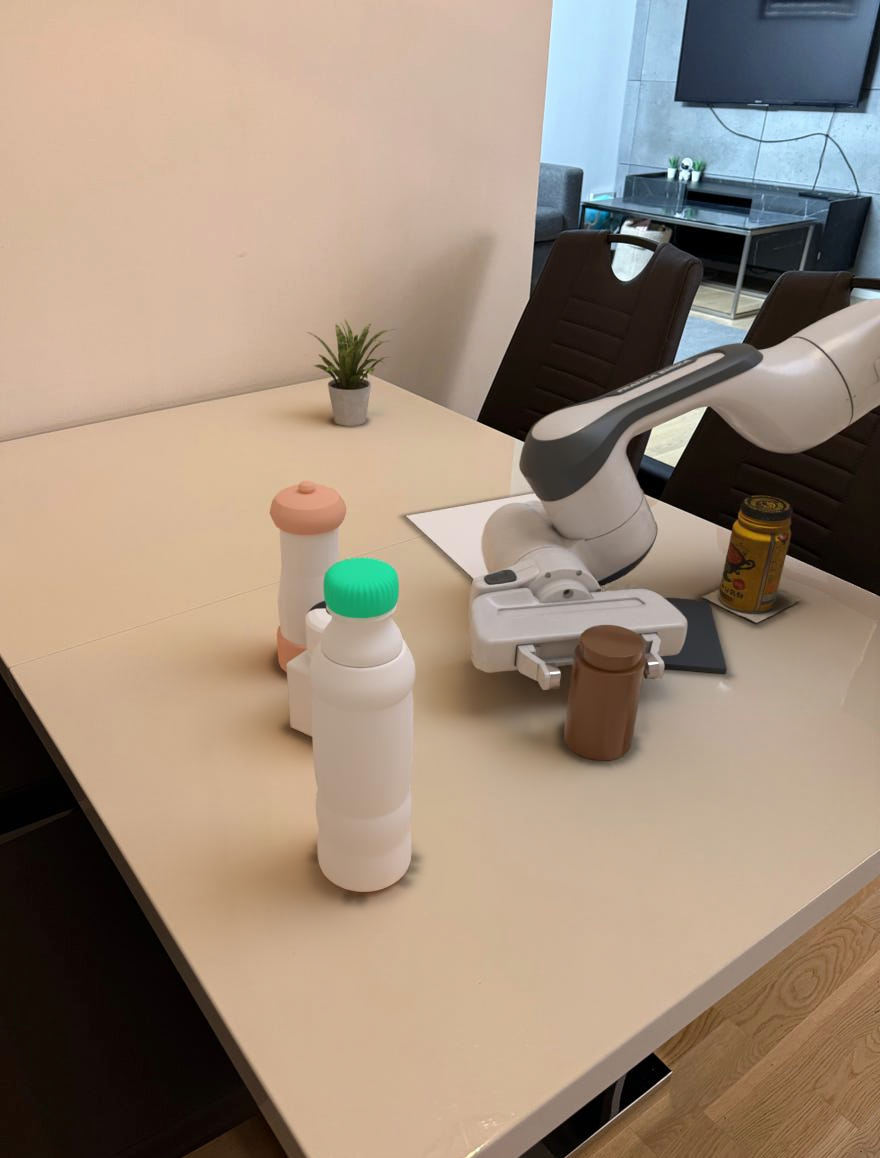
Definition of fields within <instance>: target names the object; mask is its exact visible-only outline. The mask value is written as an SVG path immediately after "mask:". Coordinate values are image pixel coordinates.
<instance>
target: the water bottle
mask: <svg viewBox="0 0 880 1158" xmlns="http://www.w3.org/2000/svg"><path fill="white" fill-rule="evenodd" d="M398 576H399V575H398V573H397V571H396V569H395V568H394V567H393V566H392V565H391V564H389V563H388V562H386V561H383V560H379V559H376V558H373V557H371V558H370V557H362V556H361V557H350V558H345V559H342V560H339V562H337V563H336V564H334V565H332V566H331V567H330V568H329V569H328V570H327V571H326V573H325V577H324V584H323V587H324V599H325V603H326V608H327V611H328V612H329V613H330V615H332V619H331V621H330V622H329V623H328V625H327V626H326V628H325V629H324V631H323V634H322V637H321V640H320V641H319V643H318V645H317V647H316V649H315V651H314V653H313V655H312V658H311V661H310V666H309V677H310V683H311V686H312V688H313V696H312V737H311V738H312V739H311V740H312V753H313V764H314V765H313V767H314V775H315V782H316V796H315V815H316V822H317V826H318V831H317V843H316V844H317V845H316V847H317V851H316V852H317V861H318V865H319V868H320V870H321V872H322V873H323V875H324V876H325V877H326V878H327V879H328V880H329V881H330V882H331V883H333V884H334V885H336V886H338V887H339V888H342V889H344V890H348V891H351V892H358V893H359V892H360V893H369V892H376V891H380V890H383V889H385V888H388V887H391V886H392V885H394V884H395V883H397V882H398V881H400V879H401V878H403V876H405V874H406V872H407V871H408V869H409V867H410V864H411V859H412V832H411V821H412V816H413V815H412V814H413V798H412V792H411V781H412V774H413V773H412V772H413V764H414V763H413V761H414V737H415V735H414V734H415V733H414V732H415V731H414V730H415V727H414V726H415V720H414V719H415V718H414V717H415V712H414V696H413V686H414V683H415V680H416V663H415V659H414V656H413V654H412V652H411V650H410V648H409V646H408V645H407V642H406V641H405V639H404V638H403V635H402V631H401V629H400V628H399V626H398V624H397V623H396V622H395V621H394V620H393V618H392V615H393V614H394V613H395V611H396V609H397V606H398V601H399V596H400V583H399V581H400V580H399V577H398Z"/></svg>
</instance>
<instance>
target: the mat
mask: <svg viewBox="0 0 880 1158" xmlns="http://www.w3.org/2000/svg"><path fill="white" fill-rule="evenodd" d="M662 597H663V598H665V599H666V600H667V601H668V602H670V603H672V604H674V605H675V606H677V607H678V608H679V609H680V610H681V612H682V614H683V615H684V616H685V618H686V619H687V633H686V638H685V642H684V645H683V647H682V649H681V651H680V652H679V653H678V654H676V655H670V656H660V657H661V659H662V660H663V661H664V666H665V667H664V669H666V670H667V669H668V670H679V671H680V670H681V671H692V672H702V673H713V674H723V675H724V674H727V671H728V667H727V665H726V660H725V657H724V653H723V649H722V645H721V641H720V638H719V634H718V630H717V627H716V622H715V618H714V614H713V611H712V608H711V607H712V606H711V603H710V600H705V599H703V600H702V599H692V598H691V599H689V598H681V597H665V596H662Z"/></svg>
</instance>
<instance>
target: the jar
mask: <svg viewBox="0 0 880 1158" xmlns="http://www.w3.org/2000/svg"><path fill="white" fill-rule="evenodd" d="M579 642H580V643H579V644H578V645H577V646H576V648H575V650H574V658H573V665H571V666H572V667H571V673H570V680H569V691H568V696H567V706H566V713H565V720H564V721H565V722H564V728H563V729H564V731H563V741H564V743H565V745H566V746H567V747H568V748H569V749H570V750H571V751H572V752H574V753H575V754H576V755H579V756H580V757H584V758H585V759H589V760H594V761H613V760H617V759H620V758H621V757H624V756H625V755H627V754H628V752H629V751H630V750H631V747H632V744H633V738H634V737H633V736H634V732H635V725H636V721H637V715H638V708H639V703H640V697H641V692H642V686H643V680H644V676H643V675H644V669H645V664H646V658H645V655H644V653H643V647H644V643H643V640H642V638H641V637H640V636H639V635H638V634H636V633H635V632H633V631H631V630H629V629H627V628H624V627H620V626H615V625H597V626H593V627H590V628H588V629H586V630H585V631H584V632H583V633H581V635H580V637H579Z"/></svg>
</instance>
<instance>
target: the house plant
mask: <svg viewBox="0 0 880 1158" xmlns="http://www.w3.org/2000/svg"><path fill="white" fill-rule="evenodd" d="M344 322H345V323H344V324H345V326H344V324H343V323H342V322H341V321H339V323H340V325H341V326H342V328H343V331H344V332H343V331H342V329H341V327H340V326H339V325H338V324H337V323H335V335H336V341H337V353H338V354H337V357H336V356H335V355H336V354H334V352H333V351H332V350H331V349H330V347H329V346H328V345H327V344H326V342H324V341H323V340H322V339H321V338H320V337H319V336H317V335H315V334H314V333H312V332H309V331H305V333H307V334H310V335H311V336H313V337H314V338H315V339H317V340H318V342H320V343H321V345H322V346H323V347H324V348H325V349H326V351H327V352H328V354H329V356H330V358H332V360H333V361H334V363H335V365H336V366H337V367H336V366H335V365H334V364H333V363H332V361H331V360H330V359H328V358H326V357H325V356H324V355H322V354H318V356H319V358H321V359H322V361H323V363H324V364H325V365H324V364H314V365H313V367H315V368H317V369H321V370H322V371H324V373H327V374H329V375H330V376H331V378H332V380H329V382H328V383H327V389H328V394H329V398H330V405H331V410H332V415H333V419H334V423H335V424H337V425H339V426H345V427H355V426H356V427H357V426H361V425H363V424H365V423H366V419H367V415H368V406H369V399H370V394H371V387H372V383H371V382H370V381H369V379H368V376H369V375H368V374H370V376H372V374H373V372H374V371H375V368H374V367H375V366H376V365H378V363H382V364H383V365H384V366H385V363H384V361H383V360H384V359H388V358H389V356H383V357H380V358H379V359H377V358H370V357H371V355H372V354H373V352H374V351H375V350H376V349H377V348H378V347H379V346H380V345H382V344H383V343H387V342H388V343H389V342H390V340H382V341H381V340H378V338H379V337H380V336H382V335H383V334H385V333H387V332H391V331H395V330H396V328H393V329H391V328H390V329H384V330H382V331H378V332H377V333H376V334H375V335H373V336H372V338H370V340H369V341H368V342H367V343H366V344H365V342H366V339H367V337H368V335H369V333H370V327H371V325H372V323H369V324H367V325H366V326H365V327H364V328H363V329H362V331H361V333H360V336H359V334H355V336H354V335H353V331H352V328H351V326H350V324H349V323H348V321H347V320H346V318H344ZM345 327H346V328H345ZM346 330H347V331H346ZM373 342H378V343H377V344H375V345H374V346H373V347H372V349H371V350H370V352H369V353H368V355H367V356H366V358H365V360H364V361H363V362H362V364H361V365H359V364H360V363H361V361H362V359H363V357H364V355H365V354H366V352H367V350H368V349H369V348H370V346H371V345H372V344H373ZM364 344H365V345H364ZM369 358H370V359H369ZM372 362H374V363H372ZM370 363H372V365H370V367H367V368H365V367H366V366H367V365H368V364H370ZM326 365H327V366H326ZM365 371H366V372H365Z"/></svg>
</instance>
